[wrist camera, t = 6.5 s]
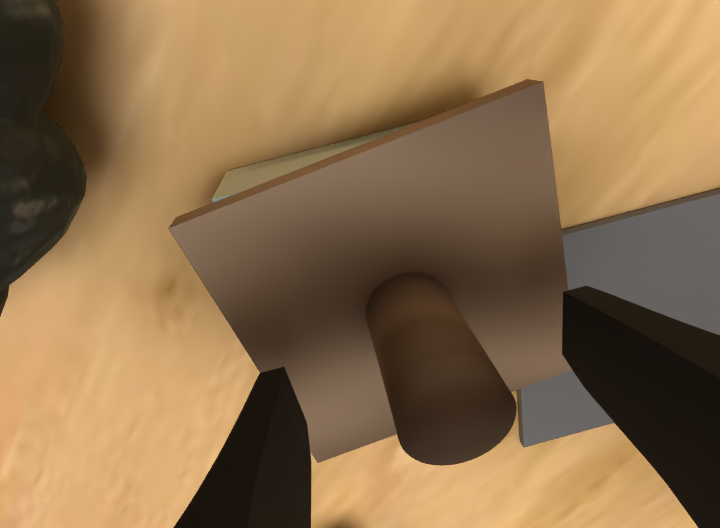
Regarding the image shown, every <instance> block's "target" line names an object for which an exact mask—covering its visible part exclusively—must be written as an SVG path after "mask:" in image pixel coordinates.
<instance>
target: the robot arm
mask: <svg viewBox="0 0 720 528" xmlns="http://www.w3.org/2000/svg"><path fill="white" fill-rule="evenodd" d="M562 355H563V356H564V358H565V359H566V361H567V362H568V364H569V365H570V367H571V369H572V370H573V372H574V373H575V375H576V376H577V378H578V379H579V380H580V382H581V383H582V385H583V386H584V388H585V389H586V390H587V391H588V392H589V394H590V395H591V396H592V397H593V398H594V400H595V401H596V402H597V403H598V404H599V405H600V407H601V408H602V409H603V410H604V411H605V412H606V414H607V415H608V416H609V417H610V418H611V419H612V420H613V422H614V423H615V424H616V425H617V426H618V427H619V428H620V430H621V431H622V432H623V433H624V434H625V435H626V436H627V438H628V439H629V440H630V441H631V442H632V443H633V444H634V446H635V447H636V448H637V449H638V450H639V451H640V453H641V454H642V455H643V456H644V457H645V458H646V459H647V461H648V462H649V463H650V464H651V465H652V466H653V468H654V469H655V470H656V471H657V473H658V474H659V475H660V476H661V477H662V479H663V480H664V481H665V482H666V484H667V485H668V486H669V488H670V489H671V490H672V492H673V493H674V495H675V496H676V497H677V499H678V500H679V501H680V503H681V504H682V506H683V507H684V508H685V510H686V511H687V512H688V514H689V515H690V517H691V518H692V519H693V521H694V522H695V523H696V525H697V526H698V528H720V335H718V334H715V333H712V332H709V331H706V330H703V329H701V328H698V327H695V326H692V325H689V324H687V323H684V322H681V321H679V320H676V319H673V318H671V317H668V316H665V315H663V314H660V313H658V312H655V311H652V310H650V309H647V308H645V307H642V306H640V305H637V304H635V303H632V302H629V301H627V300H624V299H622V298H619V297H617V296H614V295H611V294H609V293H606V292H604V291H601V290H598V289H595V288H592V287H589V286H583V287H579V288H575V289H572V290H568V291H564V292H563V320H562ZM174 528H311V454H310V444H309V435H308V426H307V421H306V419H305V416H304V414H303V411H302V409H301V407H300V404H299V402H298V399H297V397H296V394H295V392H294V389H293V387H292V384H291V382H290V379H289V377H288V375H287V372H286V370H285V367H281V368H277V369H273V370H269V371H266V372H262V373H260V374H259V376H258V377H257V380H256V382H255V384H254V386H253V388H252V390H251V392H250V394H249V396H248V399H247V401H246V403H245V405H244V407H243V409H242V411H241V413H240V415H239V417H238V419H237V421H236V423H235V425H234V427H233V429H232V431H231V432H230V434H229V436H228V438H227V440H226V442H225V444H224V446H223V448H222V450H221V451H220V453H219V455H218V457H217V459H216V460H215V462H214V464H213V465H212V467H211V469H210V471H209V472H208V474H207V476H206V477H205V479H204V481H203V483H202V484H201V486H200V488H199V489H198V491H197V493H196V494H195V496H194V497H193V499H192V500H191V502H190V504H189V505H188V507H187V508H186V510H185V511H184V513H183V514H182V516H181V517H180V519H179V520H178V522H177V523H176V525H175V526H174Z"/></svg>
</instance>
